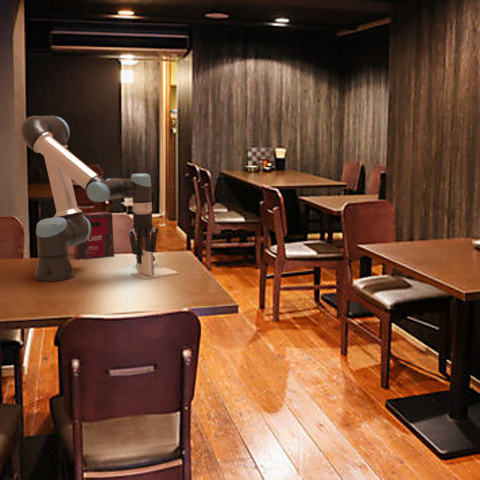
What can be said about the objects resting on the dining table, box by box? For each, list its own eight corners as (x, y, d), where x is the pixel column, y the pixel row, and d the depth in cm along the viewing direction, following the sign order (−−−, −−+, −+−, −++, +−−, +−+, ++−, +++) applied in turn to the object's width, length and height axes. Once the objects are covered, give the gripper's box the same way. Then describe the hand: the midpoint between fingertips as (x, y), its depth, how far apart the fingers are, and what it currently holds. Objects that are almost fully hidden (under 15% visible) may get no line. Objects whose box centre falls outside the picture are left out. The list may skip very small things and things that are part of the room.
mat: (131, 274, 270) (131, 273, 270) (164, 269, 280) (164, 267, 280) (145, 279, 262) (144, 278, 261) (179, 273, 271) (179, 272, 271)
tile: (137, 271, 270) (135, 249, 269) (141, 270, 272) (140, 249, 270) (149, 275, 263) (148, 253, 261) (153, 274, 264) (152, 252, 262)
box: (78, 259, 300) (75, 216, 296) (74, 256, 308) (72, 213, 304) (114, 256, 307) (112, 213, 303) (109, 253, 314) (107, 211, 311)
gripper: (130, 215, 256) (132, 275, 260) (163, 211, 265) (165, 269, 269) (120, 213, 261) (123, 271, 266) (153, 210, 271) (156, 266, 275)
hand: (144, 270), depth 267 cm, fingers closed on tile, 2 cm apart
